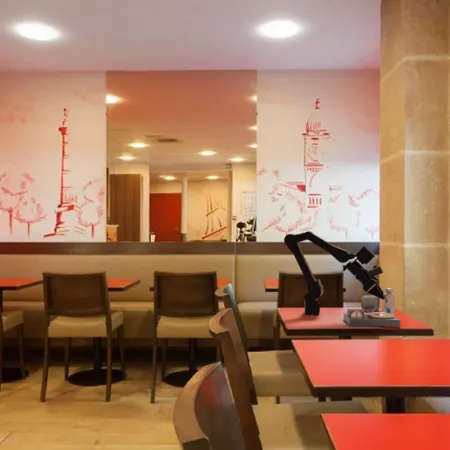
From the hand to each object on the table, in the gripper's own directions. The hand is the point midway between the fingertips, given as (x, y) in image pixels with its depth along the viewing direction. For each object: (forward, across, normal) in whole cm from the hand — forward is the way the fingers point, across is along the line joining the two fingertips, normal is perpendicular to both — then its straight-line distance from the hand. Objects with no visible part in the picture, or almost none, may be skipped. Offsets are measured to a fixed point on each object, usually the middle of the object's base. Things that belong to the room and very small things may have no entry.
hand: (384, 297), depth 223 cm
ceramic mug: (+2, +21, +12) cm, 24 cm away
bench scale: (+3, -15, +10) cm, 18 cm away
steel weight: (+8, 0, +5) cm, 10 cm away
